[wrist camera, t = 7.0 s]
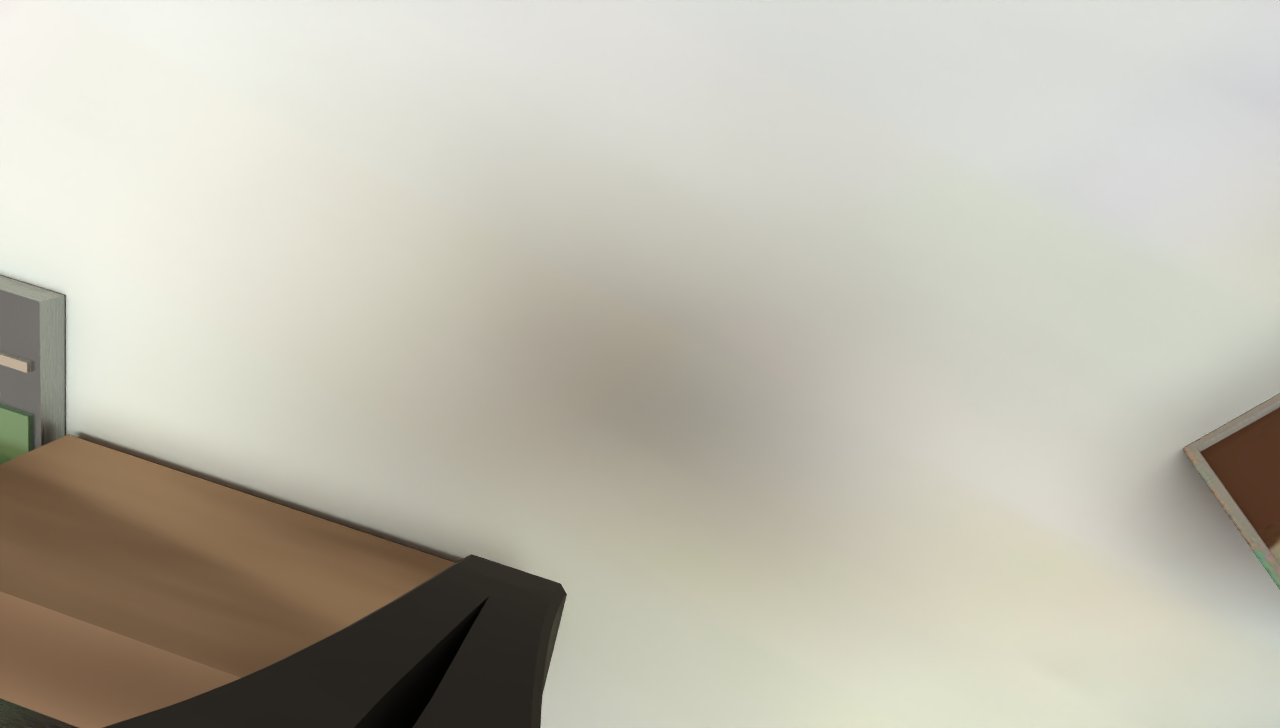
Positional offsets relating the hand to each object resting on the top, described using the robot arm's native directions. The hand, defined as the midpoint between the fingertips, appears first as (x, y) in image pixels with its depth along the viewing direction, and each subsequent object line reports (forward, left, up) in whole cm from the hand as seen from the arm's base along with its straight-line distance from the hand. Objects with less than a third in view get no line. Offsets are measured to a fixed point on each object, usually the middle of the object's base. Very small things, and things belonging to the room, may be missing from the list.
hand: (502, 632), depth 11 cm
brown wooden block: (-8, +11, -10) cm, 17 cm away
